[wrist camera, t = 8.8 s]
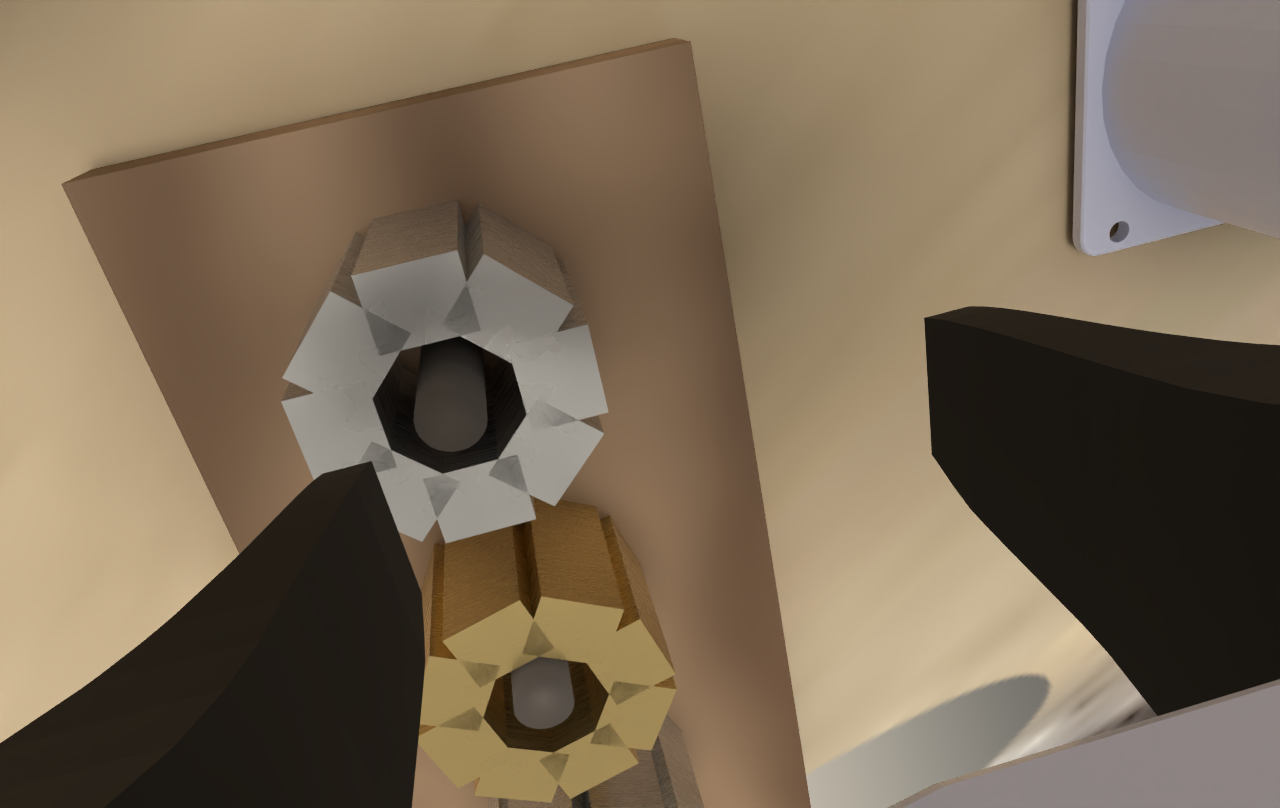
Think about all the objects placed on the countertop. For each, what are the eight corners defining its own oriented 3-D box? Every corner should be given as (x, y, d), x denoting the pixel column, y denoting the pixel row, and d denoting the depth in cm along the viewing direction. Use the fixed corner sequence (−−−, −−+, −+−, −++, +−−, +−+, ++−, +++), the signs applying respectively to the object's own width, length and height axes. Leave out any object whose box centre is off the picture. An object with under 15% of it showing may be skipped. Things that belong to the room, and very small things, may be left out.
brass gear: (664, 519, 22) (704, 622, 18) (601, 686, 24) (626, 809, 20) (452, 478, 20) (450, 581, 17) (401, 659, 22) (390, 788, 19)
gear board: (673, 38, 19) (759, 56, 13) (794, 771, 28) (872, 952, 23) (91, 169, 18) (-68, 245, 12) (422, 883, 27) (412, 1099, 22)
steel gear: (543, 178, 18) (563, 224, 14) (597, 406, 20) (628, 494, 17) (284, 239, 18) (239, 302, 14) (370, 465, 20) (350, 568, 16)
